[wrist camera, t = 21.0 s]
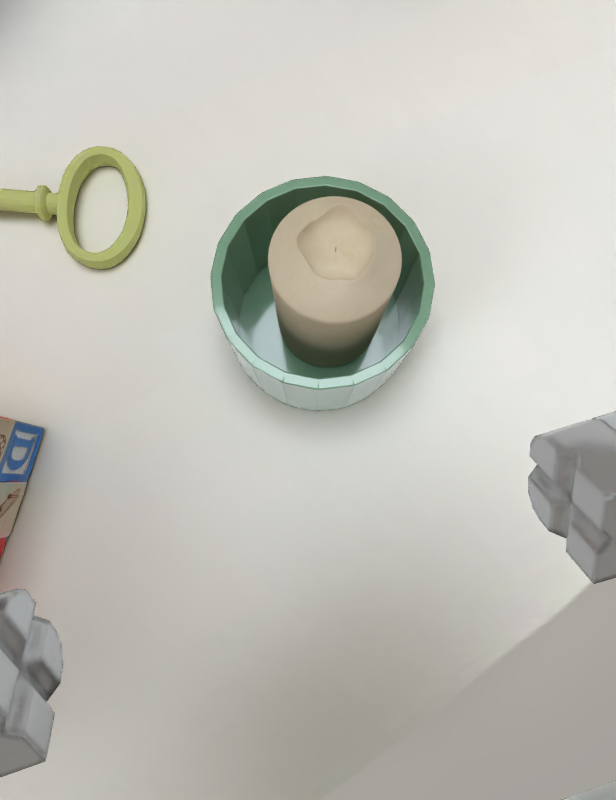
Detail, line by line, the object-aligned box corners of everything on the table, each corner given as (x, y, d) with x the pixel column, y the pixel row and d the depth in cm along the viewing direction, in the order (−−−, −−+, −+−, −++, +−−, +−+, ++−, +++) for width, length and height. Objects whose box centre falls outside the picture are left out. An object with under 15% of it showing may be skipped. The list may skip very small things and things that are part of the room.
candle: (270, 359, 30) (252, 297, 20) (288, 268, 31) (279, 165, 21) (367, 376, 30) (397, 322, 20) (382, 283, 31) (418, 187, 21)
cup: (241, 420, 30) (221, 400, 23) (225, 253, 32) (202, 188, 25) (417, 400, 30) (450, 374, 23) (392, 235, 32) (416, 165, 25)
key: (-66, 201, 32) (-91, 181, 30) (135, 149, 33) (124, 127, 31) (-44, 312, 31) (-69, 299, 29) (163, 256, 32) (153, 240, 30)
